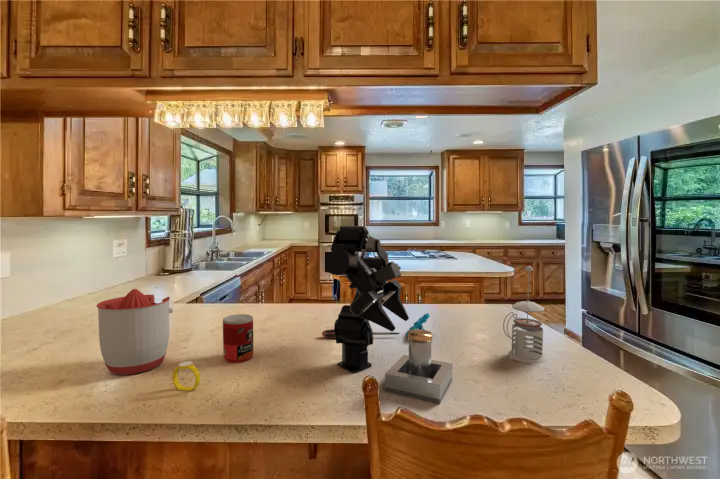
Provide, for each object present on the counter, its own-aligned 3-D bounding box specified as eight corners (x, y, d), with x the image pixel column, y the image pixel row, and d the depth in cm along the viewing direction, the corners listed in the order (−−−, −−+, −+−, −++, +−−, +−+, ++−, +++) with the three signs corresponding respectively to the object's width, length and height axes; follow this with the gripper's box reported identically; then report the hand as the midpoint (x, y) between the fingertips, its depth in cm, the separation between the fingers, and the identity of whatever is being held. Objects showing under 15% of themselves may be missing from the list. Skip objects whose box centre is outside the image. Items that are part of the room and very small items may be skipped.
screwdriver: (399, 336, 114) (399, 327, 114) (400, 339, 112) (400, 330, 111) (322, 336, 114) (322, 327, 114) (321, 339, 111) (321, 330, 111)
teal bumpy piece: (408, 325, 121) (429, 307, 117) (421, 337, 120) (442, 320, 116) (400, 339, 111) (422, 320, 107) (413, 353, 110) (436, 335, 106)
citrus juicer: (190, 358, 96) (188, 284, 95) (125, 385, 80) (122, 297, 79) (151, 349, 102) (149, 280, 101) (84, 372, 86) (81, 291, 85)
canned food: (241, 365, 91) (240, 323, 91) (216, 360, 94) (215, 320, 93) (259, 354, 98) (259, 315, 98) (236, 350, 101) (235, 312, 101)
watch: (170, 392, 77) (168, 366, 77) (179, 386, 80) (177, 361, 80) (195, 393, 76) (193, 366, 76) (203, 387, 79) (201, 361, 79)
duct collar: (385, 391, 77) (385, 373, 77) (403, 370, 88) (403, 354, 88) (439, 404, 72) (440, 384, 72) (452, 380, 83) (452, 363, 83)
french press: (555, 362, 93) (558, 268, 92) (514, 365, 92) (517, 269, 90) (531, 349, 103) (533, 263, 102) (494, 351, 101) (496, 264, 100)
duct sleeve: (402, 380, 80) (403, 332, 80) (417, 374, 84) (418, 328, 83) (421, 389, 76) (422, 338, 76) (436, 381, 80) (437, 333, 79)
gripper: (362, 254, 75) (412, 312, 70) (394, 248, 91) (436, 295, 87) (330, 288, 78) (376, 345, 74) (366, 276, 95) (405, 322, 91)
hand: (401, 324), depth 81 cm, fingers open, 9 cm apart
